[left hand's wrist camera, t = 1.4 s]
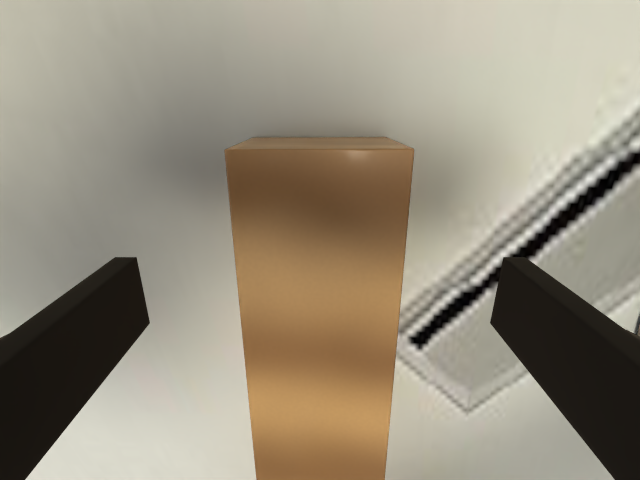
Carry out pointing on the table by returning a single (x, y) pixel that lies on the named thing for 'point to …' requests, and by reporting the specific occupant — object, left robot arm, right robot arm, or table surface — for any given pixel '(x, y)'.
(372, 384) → the wide beam
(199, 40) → the table surface
